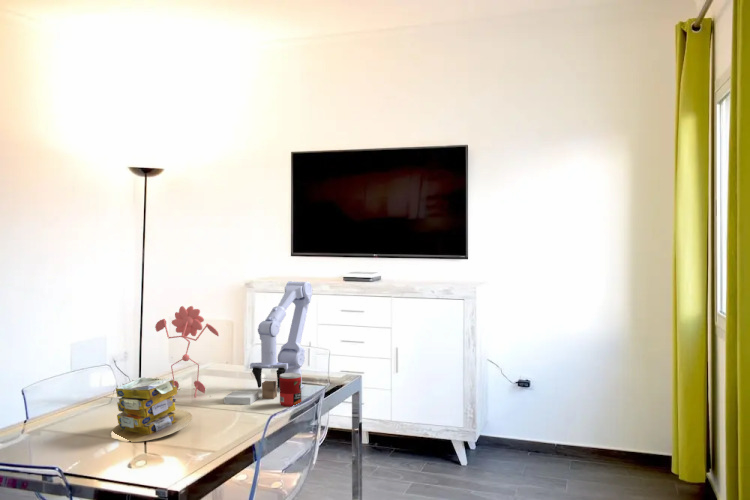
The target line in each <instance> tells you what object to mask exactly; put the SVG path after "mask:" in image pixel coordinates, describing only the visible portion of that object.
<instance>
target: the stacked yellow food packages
mask: <svg viewBox="0 0 750 500" xmlns="http://www.w3.org/2000/svg"><path fill="white" fill-rule="evenodd" d="M115 391H116V393H115V394H116V396H117V398H118V397H119V399H118V401H117V409H118V412H120V413H117V414H116V418H117V424H116V426H114V428H112V430H111V431H113V432H114V433H115V434H117V435H119V436H121V437H123V438H125V439H127V440H129V441H131V442H130V443H137V442H145V441H150V440H156V439H160V438H163V437H166V436H168V435H171V434H174V433H176V432H178V431H180V430H182V429H184V428H185V427H186V426H188V425H189V424H190V423H191V422H192V420H193V414H192V413H191V412H190V411H187V410H184V409H176V404H175V403H176V398H173V397H174V396H176V395H177V394H178V389H177V387H176V386H174V382H173V377H172V378H152V377H138V378H136V379H134V380H133V379H132V380H131V381H128V382H126V383H123V382H122V385H121V384H120V385H119V386H118V387H117V386H116V388H115ZM172 396H173V397H172Z"/></svg>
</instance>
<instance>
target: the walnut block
mask: <svg viewBox="0 0 750 500" xmlns="http://www.w3.org/2000/svg"><path fill="white" fill-rule="evenodd" d="M277 389H278V388H277V380H264V381H263V382H261V399H262V400H263V399H264V400H274V399H276V397H277V396H278V390H277Z"/></svg>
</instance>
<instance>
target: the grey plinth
mask: <svg viewBox="0 0 750 500" xmlns="http://www.w3.org/2000/svg"><path fill="white" fill-rule="evenodd" d="M259 394H260V392H259V391H257V390H233V391H232V392H229V393H227V395H226V396H224V397H223V401H224V403H223V404H224V405H251V404H253V403H254V402H255V401H257V400H258V399H259V398H260V395H259Z"/></svg>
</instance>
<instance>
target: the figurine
mask: <svg viewBox="0 0 750 500" xmlns="http://www.w3.org/2000/svg"><path fill="white" fill-rule="evenodd" d="M200 313H201V309H199V308H194V306H193V305H190V306H188V307H187V308H186V307H185V306H183V305H182V306H179V310H178V311H176V312H174V317H175V319H173V320H171V324H172V325H173V326H174V327H175V333H179V334H181V335H176V336H169V331H168V327H167V320H166V318H163V319H159V321H157V322H156V324H155V326H154V328H155V331H156V332H157V333H158V332H160V331H162V330H164V328H165V333H166V335H167V339H168V340H169V339H175V338H177V339H178V338H182V339H184V340H186V341H187V342H188V343H187V347H186V351H185V354H183V355H182V358H181V359H179V360H178V361H176V362H175V363H173V364H171V366H170V367H171V374H172V380H173V382H174V386H176V387H177V390H179V387H180V383H179V382H178V381H177V380H175V375H174V371H173V366H174V365H177V364H178V363H180V362H181V361H184V362H188V361H191V362H192V363H194V364H196V365H197V376H196V377H197V378H196V379H197V380H194V381H193V386H194V387H195V389H194V390H195V391H194V398H196V397H197V391H198V392H201V393H202V394H205V392H206V390H205V389H206V386H205V385H204V384H203V383H202V382H201V381H199V372H200V364H199V363H197V362H196V361H194V360H193V359H192V358H190V355H188V351H189V347H190V343H191V342H190V341H191V340H192V341H195V342H197V341H198V340H199V338H200V336H201V335H202V334H203V332H204V331H205V330H206V329H208V330H209V331H210V332H211V333H212V334H214V335H215V336H217V337H219V336H220V335H219V331H218V330H217V329H216V328H215V327H214V326H212V325H211V324H209V323H206V324H205V326H204V327H203V325H202V323H203V322H204V321H205V319H204V317H203V316H202V315H200ZM198 331H200V332H199V334H198V336H197V333H198ZM189 335H190V336H192V337H196V336H197V337H196V338H192V337H189ZM210 397H212V395H210V396H209V398H210Z"/></svg>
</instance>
